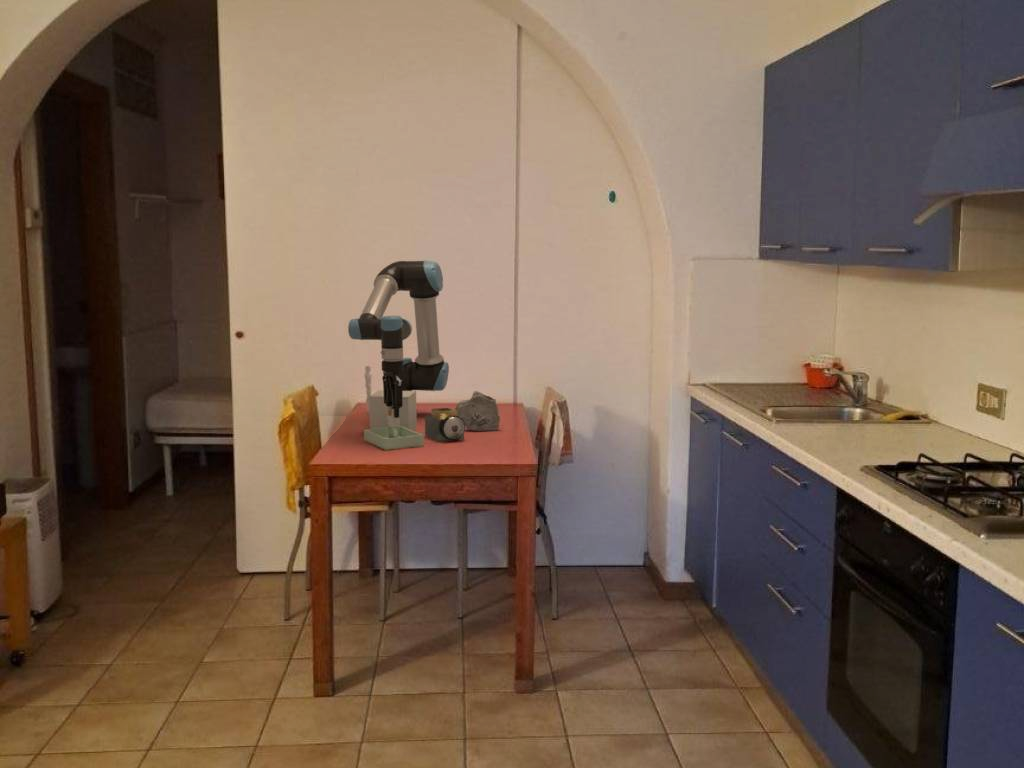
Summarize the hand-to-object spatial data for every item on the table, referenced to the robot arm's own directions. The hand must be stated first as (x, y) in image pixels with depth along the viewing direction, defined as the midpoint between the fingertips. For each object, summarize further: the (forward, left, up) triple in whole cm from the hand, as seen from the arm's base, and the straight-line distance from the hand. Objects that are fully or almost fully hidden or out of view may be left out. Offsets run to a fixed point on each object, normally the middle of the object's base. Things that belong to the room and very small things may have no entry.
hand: (393, 425), depth 358 cm
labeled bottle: (0, 0, -5) cm, 5 cm away
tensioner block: (+1, +20, -7) cm, 21 cm away
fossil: (-7, +37, -7) cm, 38 cm away
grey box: (-21, +7, -7) cm, 23 cm away
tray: (0, 0, -7) cm, 7 cm away
